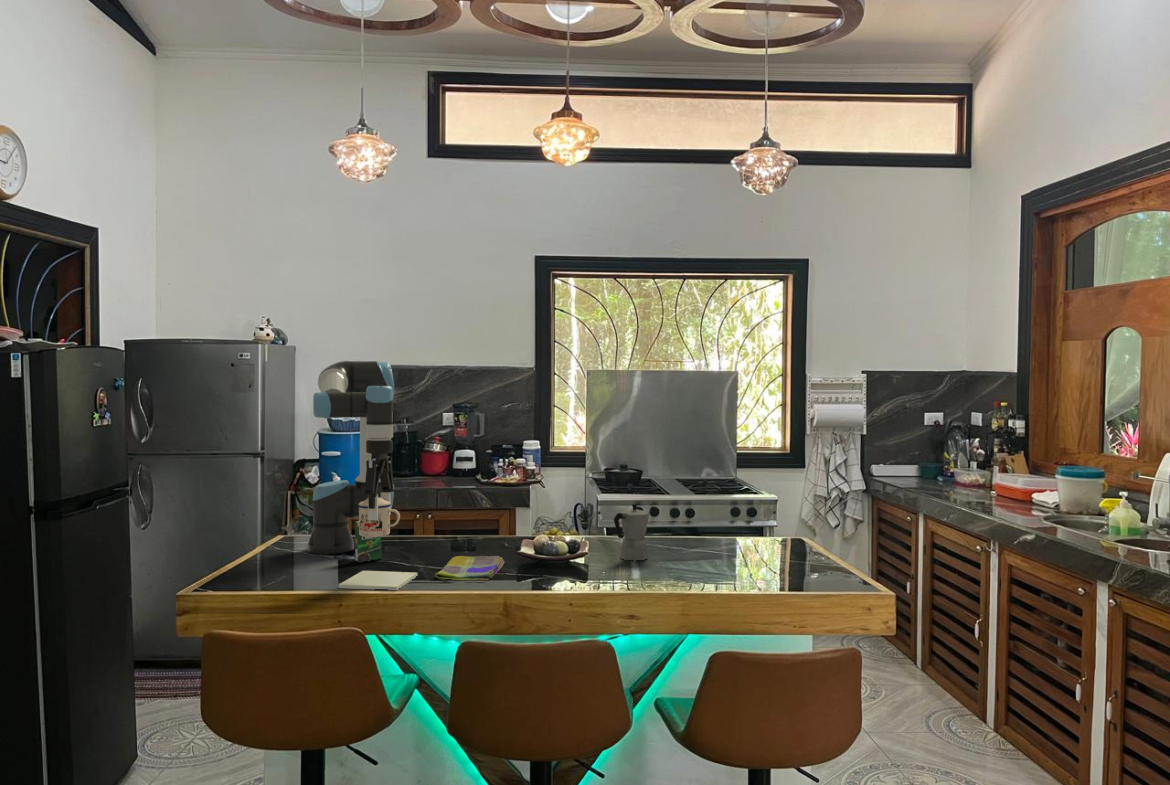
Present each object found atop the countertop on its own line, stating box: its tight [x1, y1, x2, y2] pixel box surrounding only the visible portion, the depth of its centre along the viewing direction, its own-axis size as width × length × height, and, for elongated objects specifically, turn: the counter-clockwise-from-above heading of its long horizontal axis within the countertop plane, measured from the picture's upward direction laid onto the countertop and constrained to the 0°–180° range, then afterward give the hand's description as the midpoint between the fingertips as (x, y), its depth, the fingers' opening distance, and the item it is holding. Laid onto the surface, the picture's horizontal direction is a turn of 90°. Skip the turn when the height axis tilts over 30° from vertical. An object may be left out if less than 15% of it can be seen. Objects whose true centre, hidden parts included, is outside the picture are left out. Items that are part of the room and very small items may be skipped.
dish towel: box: [434, 555, 505, 582], centre depth 252 cm, size 18×24×3 cm
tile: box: [338, 570, 418, 591], centre depth 237 cm, size 17×17×1 cm
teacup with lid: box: [358, 494, 401, 537], centre depth 236 cm, size 12×9×12 cm
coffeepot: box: [613, 503, 651, 562], centre depth 269 cm, size 15×9×18 cm, turn 129°
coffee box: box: [354, 520, 382, 563], centre depth 264 cm, size 8×3×13 cm, turn 121°
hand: (379, 517), depth 236 cm, fingers closed on teacup with lid, 9 cm apart
